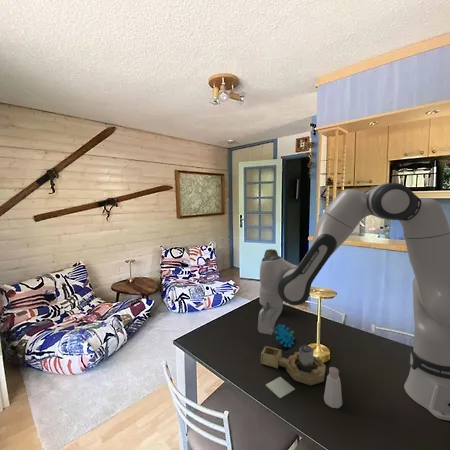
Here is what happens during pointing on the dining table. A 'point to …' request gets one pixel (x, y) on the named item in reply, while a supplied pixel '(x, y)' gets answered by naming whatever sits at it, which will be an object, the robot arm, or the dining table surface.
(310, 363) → the stud
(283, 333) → the gear
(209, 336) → the dining table surface
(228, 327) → the dining table surface
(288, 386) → the pad
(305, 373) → the octagonal ring with loop
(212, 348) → the dining table surface
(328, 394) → the salt shaker
